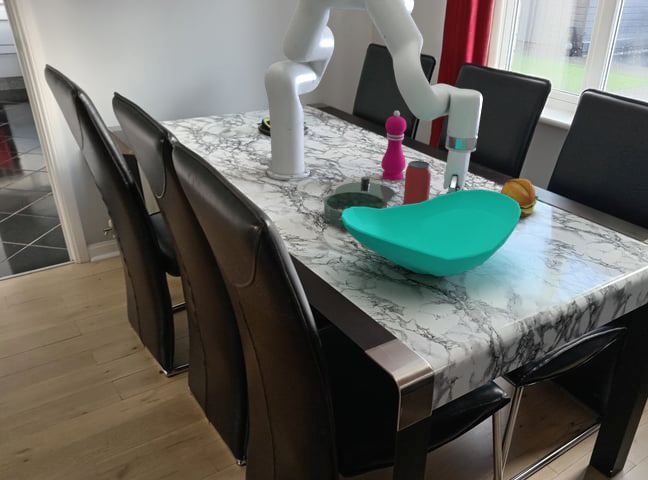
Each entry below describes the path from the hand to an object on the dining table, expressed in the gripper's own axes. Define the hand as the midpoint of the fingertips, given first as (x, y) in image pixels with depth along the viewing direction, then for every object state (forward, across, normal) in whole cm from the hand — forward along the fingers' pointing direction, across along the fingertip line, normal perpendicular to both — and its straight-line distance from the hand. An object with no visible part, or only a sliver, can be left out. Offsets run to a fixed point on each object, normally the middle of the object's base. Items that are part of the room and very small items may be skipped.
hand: (453, 207), depth 150 cm
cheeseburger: (+2, -7, +16) cm, 18 cm away
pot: (+2, +13, -23) cm, 26 cm away
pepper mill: (+2, -21, -21) cm, 30 cm away
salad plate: (+2, -57, -71) cm, 91 cm away
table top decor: (+2, +33, -1) cm, 33 cm away
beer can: (+2, 0, -10) cm, 10 cm away
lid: (+1, -4, -25) cm, 25 cm away
